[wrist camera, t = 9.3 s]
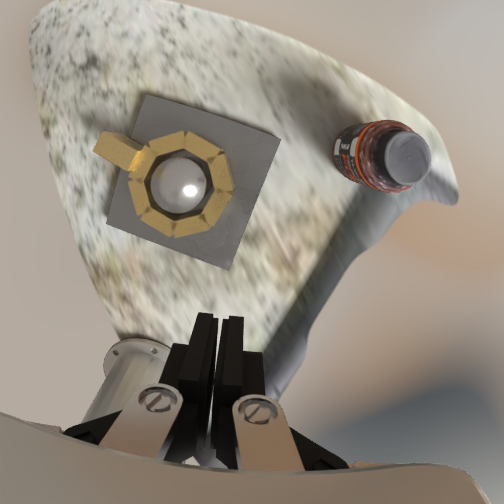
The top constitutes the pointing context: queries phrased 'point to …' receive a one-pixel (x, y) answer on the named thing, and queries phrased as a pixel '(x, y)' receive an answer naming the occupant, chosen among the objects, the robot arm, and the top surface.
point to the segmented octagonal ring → (145, 163)
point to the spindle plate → (242, 168)
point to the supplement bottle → (382, 155)
